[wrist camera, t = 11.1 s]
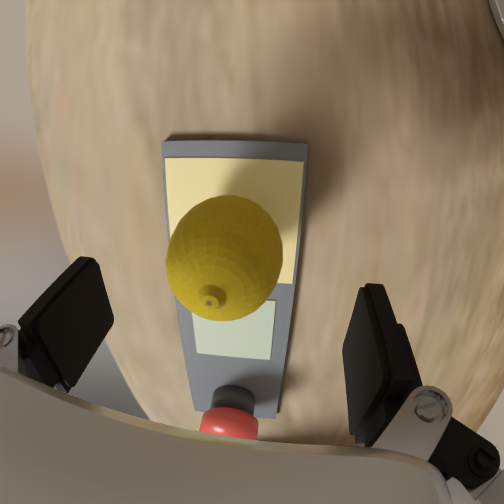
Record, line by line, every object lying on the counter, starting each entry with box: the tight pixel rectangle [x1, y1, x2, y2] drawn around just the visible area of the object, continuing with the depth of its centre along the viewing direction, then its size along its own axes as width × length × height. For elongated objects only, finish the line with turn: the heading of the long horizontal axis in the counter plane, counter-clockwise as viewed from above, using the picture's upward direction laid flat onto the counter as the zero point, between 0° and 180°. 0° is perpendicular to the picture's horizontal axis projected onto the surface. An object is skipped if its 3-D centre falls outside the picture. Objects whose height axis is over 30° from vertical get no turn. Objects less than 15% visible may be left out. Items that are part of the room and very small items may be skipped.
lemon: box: [166, 195, 283, 321], centre depth 15 cm, size 6×6×8 cm
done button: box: [199, 407, 258, 440], centre depth 24 cm, size 5×5×2 cm
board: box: [162, 139, 308, 419], centre depth 22 cm, size 26×8×2 cm, turn 178°
